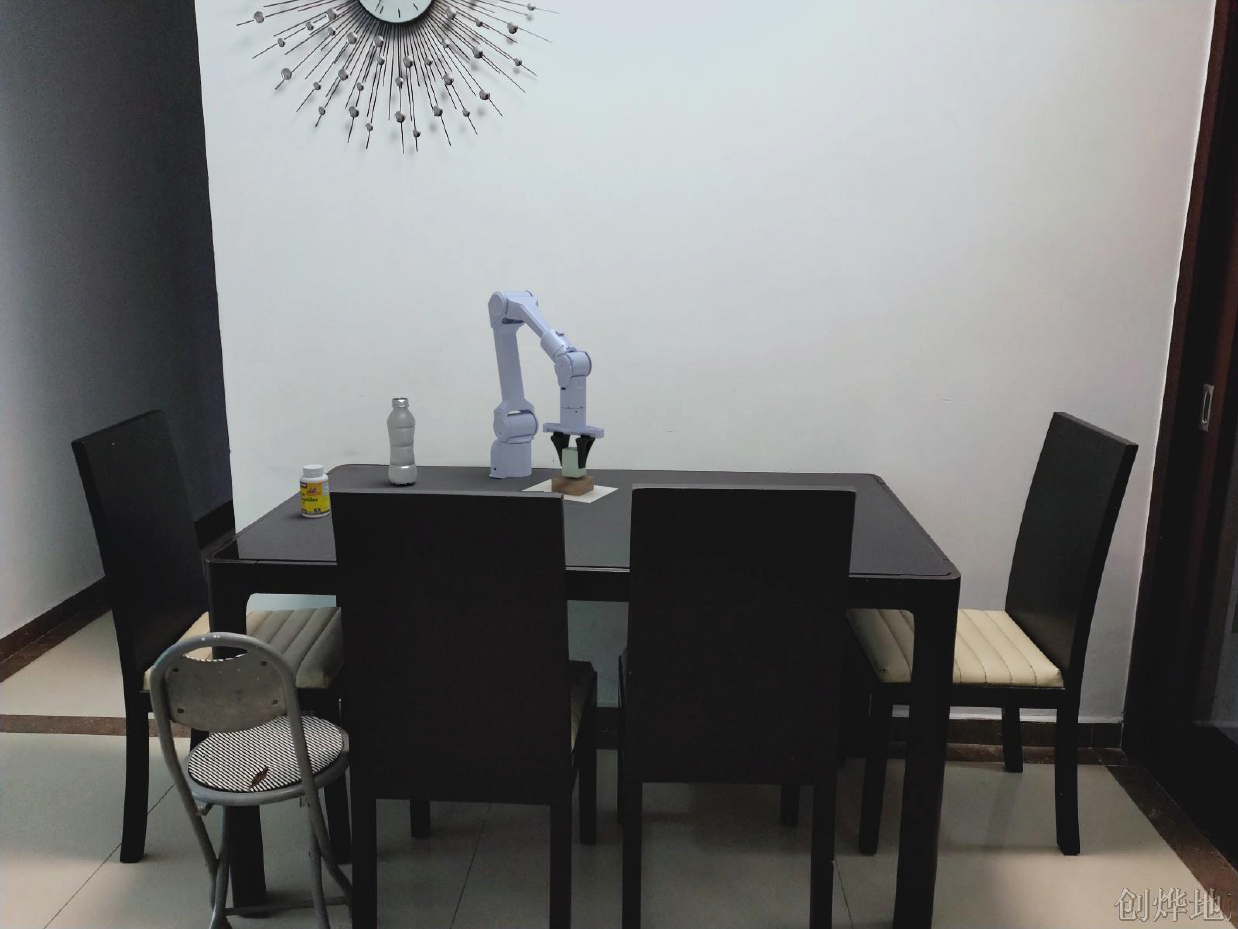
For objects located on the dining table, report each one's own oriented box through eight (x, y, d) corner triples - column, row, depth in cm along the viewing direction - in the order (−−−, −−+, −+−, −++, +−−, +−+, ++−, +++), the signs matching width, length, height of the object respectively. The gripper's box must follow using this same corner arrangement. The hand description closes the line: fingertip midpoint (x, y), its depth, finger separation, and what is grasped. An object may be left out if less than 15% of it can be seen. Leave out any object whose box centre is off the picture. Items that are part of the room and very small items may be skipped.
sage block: (561, 475, 211) (562, 449, 210) (570, 472, 214) (570, 446, 213) (577, 477, 209) (577, 451, 208) (586, 474, 213) (586, 448, 212)
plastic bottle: (382, 485, 218) (379, 399, 213) (400, 479, 224) (396, 395, 219) (406, 488, 215) (403, 401, 211) (423, 482, 222) (420, 397, 217)
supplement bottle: (296, 517, 192) (292, 468, 190) (312, 510, 197) (309, 462, 195) (319, 519, 190) (316, 470, 188) (335, 512, 196) (332, 464, 193)
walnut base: (551, 492, 211) (551, 479, 210) (566, 485, 217) (566, 473, 216) (578, 496, 208) (579, 483, 207) (593, 489, 214) (593, 476, 213)
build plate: (518, 495, 211) (518, 492, 210) (550, 482, 223) (550, 479, 223) (589, 506, 203) (589, 502, 203) (618, 491, 215) (618, 488, 215)
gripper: (535, 406, 208) (535, 466, 211) (593, 412, 201) (593, 474, 204) (551, 401, 214) (551, 460, 217) (608, 407, 207) (607, 467, 211)
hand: (572, 466), depth 211 cm, fingers closed on sage block, 4 cm apart
